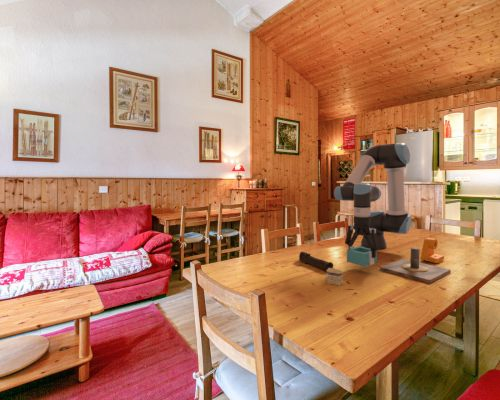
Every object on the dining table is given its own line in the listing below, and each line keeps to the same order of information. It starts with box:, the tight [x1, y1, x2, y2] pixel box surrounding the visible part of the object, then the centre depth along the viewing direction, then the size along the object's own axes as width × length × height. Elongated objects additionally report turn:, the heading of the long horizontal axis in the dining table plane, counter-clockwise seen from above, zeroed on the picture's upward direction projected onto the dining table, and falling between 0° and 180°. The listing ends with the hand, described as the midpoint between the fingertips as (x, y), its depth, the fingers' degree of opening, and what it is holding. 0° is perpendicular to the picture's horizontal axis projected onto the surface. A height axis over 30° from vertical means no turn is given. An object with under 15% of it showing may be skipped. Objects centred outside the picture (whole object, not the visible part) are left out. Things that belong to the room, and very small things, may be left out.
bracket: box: [420, 237, 445, 264], centre depth 149 cm, size 11×7×12 cm, turn 126°
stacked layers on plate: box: [326, 267, 344, 286], centre depth 121 cm, size 10×9×6 cm
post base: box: [379, 247, 452, 284], centre depth 133 cm, size 22×22×11 cm
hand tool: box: [298, 251, 334, 273], centre depth 144 cm, size 23×5×6 cm, turn 28°
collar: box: [346, 245, 378, 268], centre depth 135 cm, size 10×10×6 cm
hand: (361, 261), depth 135 cm, fingers closed on collar, 10 cm apart
